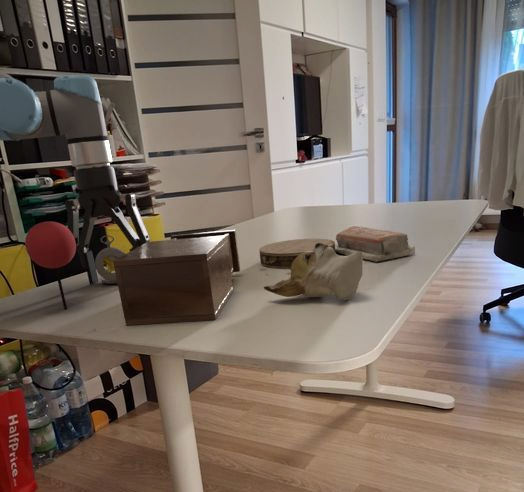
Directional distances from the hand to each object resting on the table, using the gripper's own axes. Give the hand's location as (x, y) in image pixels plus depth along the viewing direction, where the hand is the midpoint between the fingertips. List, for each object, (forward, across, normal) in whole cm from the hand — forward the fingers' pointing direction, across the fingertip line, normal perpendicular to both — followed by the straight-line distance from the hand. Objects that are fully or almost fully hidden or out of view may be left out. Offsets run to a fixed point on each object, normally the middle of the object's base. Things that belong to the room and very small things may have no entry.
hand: (116, 281), depth 108 cm
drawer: (-1, -20, +6) cm, 21 cm away
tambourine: (0, -37, -9) cm, 38 cm away
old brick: (0, -52, -10) cm, 53 cm away
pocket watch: (0, 0, 0) cm, 0 cm away
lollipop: (0, +2, +18) cm, 18 cm away
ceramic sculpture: (0, -42, +21) cm, 47 cm away
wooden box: (0, -20, +22) cm, 30 cm away
